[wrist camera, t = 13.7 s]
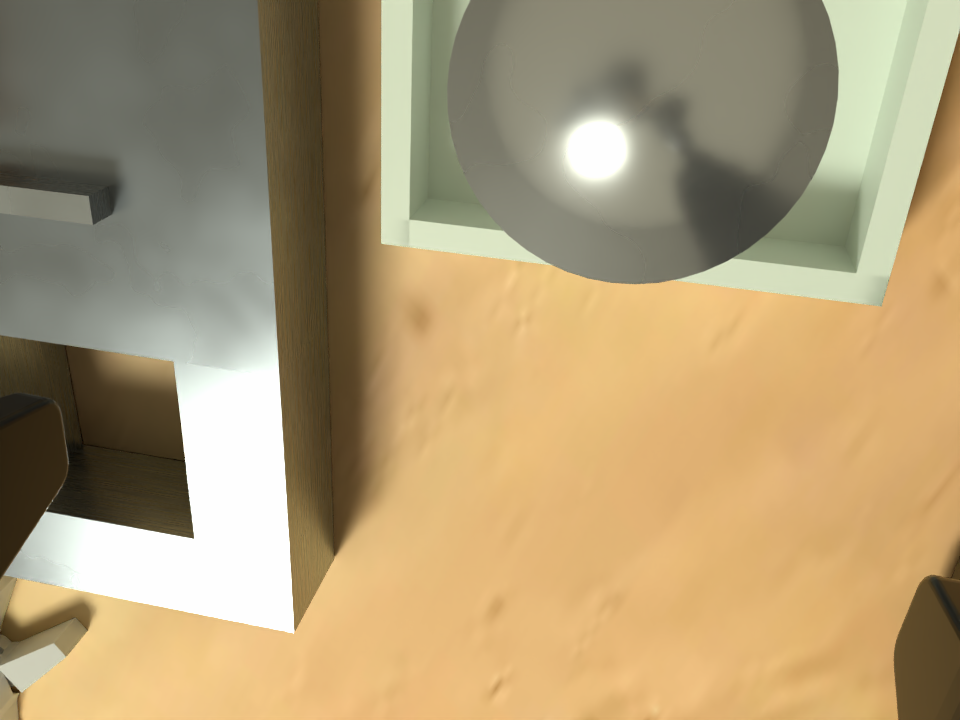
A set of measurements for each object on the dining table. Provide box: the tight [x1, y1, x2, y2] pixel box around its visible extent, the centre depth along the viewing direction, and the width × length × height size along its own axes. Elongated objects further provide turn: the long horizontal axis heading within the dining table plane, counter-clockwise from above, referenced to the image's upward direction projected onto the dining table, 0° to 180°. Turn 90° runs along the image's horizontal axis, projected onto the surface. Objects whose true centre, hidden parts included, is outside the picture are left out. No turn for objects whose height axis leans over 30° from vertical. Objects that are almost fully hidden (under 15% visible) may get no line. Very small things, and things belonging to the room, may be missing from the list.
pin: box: [447, 0, 839, 284], centre depth 14 cm, size 5×5×8 cm
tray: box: [381, 0, 960, 306], centre depth 17 cm, size 10×9×2 cm
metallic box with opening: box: [0, 0, 334, 633], centre depth 21 cm, size 10×18×4 cm, turn 177°
